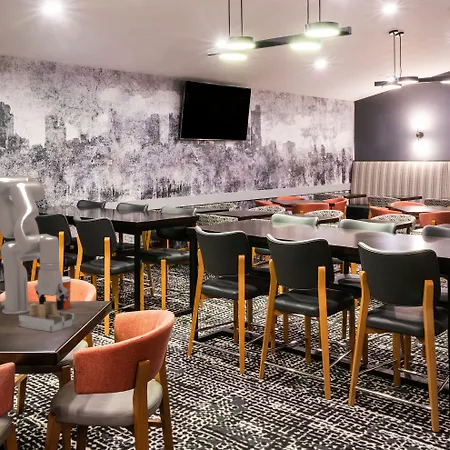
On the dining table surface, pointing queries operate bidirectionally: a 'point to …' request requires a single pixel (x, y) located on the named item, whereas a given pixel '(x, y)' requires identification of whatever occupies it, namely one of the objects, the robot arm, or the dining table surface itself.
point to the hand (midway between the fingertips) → (51, 308)
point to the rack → (47, 321)
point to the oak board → (37, 310)
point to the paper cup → (66, 284)
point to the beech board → (51, 308)
